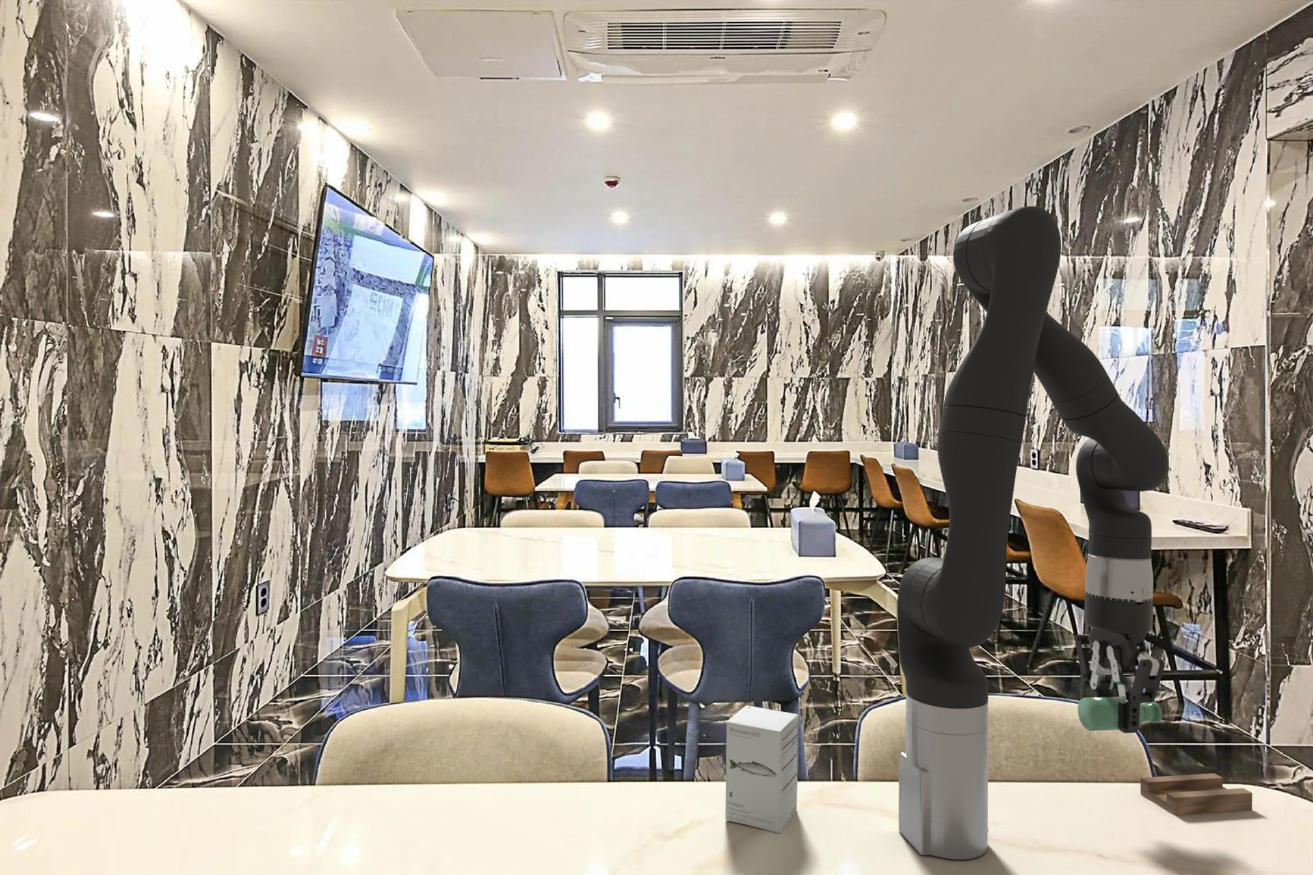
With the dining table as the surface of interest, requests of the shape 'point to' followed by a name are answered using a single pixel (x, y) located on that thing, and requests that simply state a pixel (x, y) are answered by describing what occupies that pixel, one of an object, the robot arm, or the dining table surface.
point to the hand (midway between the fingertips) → (1115, 724)
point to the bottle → (1112, 713)
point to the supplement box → (761, 768)
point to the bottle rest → (1195, 794)
